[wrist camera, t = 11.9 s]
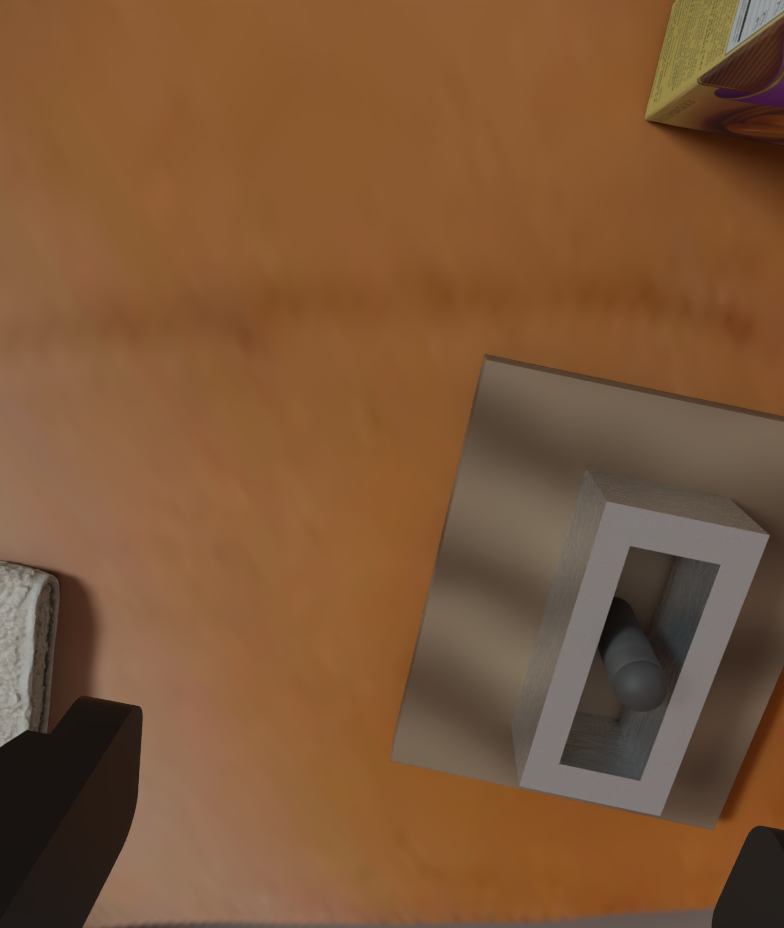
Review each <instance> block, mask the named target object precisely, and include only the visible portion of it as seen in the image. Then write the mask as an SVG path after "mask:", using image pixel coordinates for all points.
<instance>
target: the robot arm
mask: <svg viewBox="0 0 784 928" xmlns="http://www.w3.org/2000/svg"><path fill="white" fill-rule="evenodd" d="M142 719H143V715H142V709H141V707H139V706H136V705H130V704H125V703H120V702H115V701H109V700H104V699H99V698H93V697H88V696H82V697H80V698H78V699H77V700H76V701H75V702H74V703H73V705H72V706H71V707H70V709H69V710H68V711H67V713H66V714H65V715H64V717H63V718H62V719H61V721H60V722H59V723H58V725H57V726H56V727H55V729H54V730H53V731H52V733H51V734H47V733H41V732H36V731H31V730H26V731H24V732H22V733H21V734H19V735H18V736H16V737H15V738H13V739H12V740H10V741H9V742H7V743H5V744H4V745H2V746H1V747H0V928H82V927H83V925H84V923H85V921H86V919H87V917H88V915H89V913H90V911H91V909H92V907H93V906H94V904H95V902H96V900H97V898H98V896H99V894H100V892H101V890H102V888H103V886H104V884H105V882H106V880H107V878H108V876H109V874H110V872H111V870H112V868H113V866H114V864H115V862H116V860H117V858H118V856H119V854H120V852H121V850H122V848H123V846H124V843H125V841H126V838H127V836H128V833H129V830H130V827H131V824H132V820H133V817H134V813H135V809H136V804H137V797H138V784H139V768H140V752H141V736H142ZM712 928H784V830H781V829H776V828H771V827H765V826H757V827H755V828H753V829H752V830H751V831H750V832H749V834H748V836H747V838H746V840H745V842H744V844H743V847H742V849H741V851H740V853H739V855H738V858H737V860H736V862H735V864H734V866H733V869H732V871H731V873H730V875H729V878H728V880H727V882H726V884H725V886H724V889H723V891H722V893H721V895H720V897H719V900H718V902H717V904H716V907H715V909H714V913H713V918H712Z"/></svg>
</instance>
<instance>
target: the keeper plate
mask: <svg viewBox="0 0 784 928" xmlns="http://www.w3.org/2000/svg"><path fill="white" fill-rule="evenodd" d="M586 468H589V469H594V470H598V471H603V472H608V473H613V474H618V475H623V476H627V477H632V478H637V479H642V480H647V481H652V482H656V483H661V484H666V485H671V486H676V487H681V488H685V489H690V490H695V491H700V492H705V493H710V494H714V495H719V496H724V497H729V498H730V499H731V500H732V501H733V502H734V503H735V504H736V505H737V506H738V507H739V508H741V509H742V510H743V511H744V512H745V513H746V514H747V515H748V516H749V517H750V518H751V519H753V520H754V521H755V522H756V523H757V524H758V525H759V526H760V527H761V528H762V529H763V530H765V531H766V532H767V533H768V534H769V535H770V536H769V539H768V541H767V544H766V546H765V549H764V551H763V554H762V557H761V559H760V562H759V564H758V567H757V569H756V572H755V574H754V577H753V580H752V582H751V585H750V587H749V590H748V592H747V595H746V598H745V600H744V603H743V605H742V608H741V610H740V613H739V615H738V618H737V621H736V623H735V626H734V628H733V631H732V633H731V636H730V639H729V641H728V644H727V646H726V649H725V651H724V654H723V656H722V659H721V662H720V664H719V667H718V669H717V672H716V674H715V677H714V680H713V682H712V685H711V687H710V690H709V692H708V695H707V697H706V700H705V703H704V705H703V708H702V710H701V713H700V715H699V718H698V721H697V723H696V726H695V728H694V731H693V733H692V736H691V739H690V741H689V744H688V746H687V749H686V751H685V754H684V756H683V759H682V762H681V764H680V767H679V769H678V772H677V774H676V777H675V780H674V782H673V785H672V787H671V790H670V792H669V795H668V797H667V800H666V803H665V805H664V808H663V810H662V813H661V815H660V816H657V815H652V814H648V813H643V812H638V811H633V810H629V809H624V808H619V807H615V806H610V805H605V804H601V803H596V802H591V801H586V800H582V799H577V798H572V797H568V796H563V795H558V794H554V793H549V792H544V791H539V790H535V789H530V788H525V787H521V786H519V781H518V773H517V766H516V758H515V751H514V743H513V735H512V728H511V723H512V720H513V716H514V713H515V709H516V706H517V703H518V699H519V696H520V692H521V689H522V686H523V682H524V679H525V675H526V672H527V669H528V665H529V662H530V658H531V655H532V652H533V648H534V645H535V641H536V638H537V635H538V631H539V628H540V624H541V621H542V617H543V614H544V611H545V607H546V604H547V600H548V597H549V594H550V590H551V587H552V583H553V580H554V577H555V573H556V570H557V566H558V563H559V560H560V556H561V553H562V549H563V546H564V543H565V539H566V536H567V532H568V529H569V525H570V522H571V519H572V515H573V512H574V508H575V505H576V502H577V498H578V495H579V491H580V488H581V485H582V481H583V478H584V474H585V471H586ZM674 557H675V555H671V554H666V553H662V552H657V551H652V550H647V549H642V548H638V547H633V546H630V547H629V550H628V553H627V557H626V560H625V563H624V566H623V569H622V572H621V575H620V578H619V581H618V584H617V587H616V590H615V593H614V596H613V600H612V603H611V606H610V609H609V612H608V615H607V618H606V621H605V624H604V627H603V630H602V633H601V636H600V640H599V643H598V646H597V649H596V652H595V655H594V658H593V661H592V664H591V667H590V670H589V673H588V676H587V679H586V683H585V686H584V689H583V692H582V695H581V698H580V701H579V704H578V707H577V710H578V711H582V712H587V713H592V714H596V715H601V716H606V717H611V718H615V719H618V718H619V715H620V712H621V709H622V706H623V705H624V706H626V707H627V708H629V709H631V710H634V711H638V712H647V711H651V710H654V709H656V708H657V707H659V706H660V705H661V704H662V703H663V701H664V700H665V698H666V695H667V692H668V682H667V678H666V675H665V673H664V671H663V669H662V667H661V665H660V663H659V661H658V659H657V657H656V655H655V653H654V651H653V649H652V647H651V645H650V643H649V641H648V639H647V635H648V632H649V629H650V626H651V623H652V620H653V618H654V615H655V612H656V609H657V606H658V603H659V600H660V597H661V595H662V592H663V589H664V586H665V583H666V580H667V577H668V574H669V572H670V569H671V566H672V563H673V560H674ZM783 666H784V417H783V416H778V415H773V414H769V413H764V412H759V411H754V410H749V409H745V408H740V407H735V406H730V405H725V404H721V403H716V402H711V401H706V400H702V399H697V398H692V397H687V396H682V395H678V394H673V393H668V392H663V391H658V390H654V389H649V388H644V387H639V386H634V385H630V384H625V383H620V382H615V381H611V380H606V379H601V378H596V377H591V376H587V375H582V374H577V373H572V372H567V371H563V370H558V369H553V368H548V367H544V366H539V365H534V364H529V363H524V362H520V361H515V360H510V359H505V358H500V357H496V356H491V355H486V354H485V355H484V359H483V363H482V368H481V372H480V376H479V380H478V384H477V389H476V393H475V397H474V401H473V405H472V410H471V414H470V418H469V422H468V426H467V431H466V435H465V439H464V443H463V448H462V452H461V456H460V460H459V464H458V469H457V473H456V477H455V481H454V485H453V490H452V494H451V498H450V502H449V506H448V511H447V515H446V519H445V523H444V527H443V532H442V536H441V540H440V544H439V548H438V553H437V557H436V561H435V565H434V569H433V574H432V578H431V582H430V586H429V590H428V595H427V599H426V603H425V607H424V612H423V616H422V620H421V624H420V628H419V633H418V637H417V641H416V645H415V649H414V654H413V658H412V662H411V666H410V670H409V675H408V679H407V683H406V687H405V691H404V696H403V700H402V704H401V708H400V712H399V717H398V721H397V725H396V729H395V733H394V738H393V744H392V753H391V761H394V762H399V763H404V764H408V765H413V766H417V767H422V768H427V769H431V770H436V771H441V772H445V773H450V774H455V775H459V776H464V777H469V778H473V779H478V780H482V781H487V782H492V783H496V784H501V785H506V786H510V787H515V788H520V789H524V790H529V791H533V792H538V793H543V794H547V795H552V796H557V797H561V798H566V799H571V800H575V801H580V802H585V803H589V804H594V805H598V806H603V807H608V808H612V809H617V810H622V811H626V812H631V813H636V814H640V815H645V816H650V817H654V818H659V819H663V820H668V821H673V822H677V823H682V824H687V825H691V826H696V827H701V828H705V829H710V830H714V828H715V826H716V823H717V821H718V819H719V816H720V814H721V812H722V809H723V807H724V805H725V802H726V800H727V798H728V795H729V793H730V791H731V788H732V786H733V784H734V781H735V779H736V777H737V774H738V772H739V769H740V767H741V765H742V762H743V760H744V758H745V755H746V753H747V751H748V748H749V746H750V744H751V741H752V739H753V737H754V734H755V732H756V730H757V727H758V725H759V723H760V720H761V718H762V716H763V713H764V711H765V709H766V706H767V704H768V702H769V699H770V697H771V695H772V692H773V690H774V688H775V685H776V683H777V680H778V678H779V676H780V673H781V671H782V669H783Z"/></svg>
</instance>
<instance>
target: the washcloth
mask: <svg viewBox="0 0 784 928" xmlns="http://www.w3.org/2000/svg"><path fill="white" fill-rule="evenodd" d="M59 604H60V590H59V582H58V580H57V578H56V577H55V576H53V575H51V574H49V573H47V572H44V571H41V570H39V569H33V568H31V567H27V566H22V565H19V564H13V563H9V562H5V561H0V747H1V746H2V745H4V744H5V743H7V742H9V741H10V740H12V739H13V738H15V737H16V736H18V735H19V734H21V733H22V732H24V731H26V730H31V731H36V732H41V733H47V728H48V719H49V709H50V698H51V683H52V674H53V657H54V650H55V640H56V639H55V638H56V634H57V625H58V623H57V622H58V614H59Z"/></svg>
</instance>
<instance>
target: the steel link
mask: <svg viewBox="0 0 784 928" xmlns="http://www.w3.org/2000/svg"><path fill="white" fill-rule="evenodd" d="M769 536H770V535H769V534H768V533H767V532H766V531H765V530H763V529H762V528H761V527H760V526H759V525H758V524H757V523H756V522H755V521H754V520H753V519H751V518H750V517H749V516H748V515H747V514H746V513H745V512H744V511H743V510H742V509H741V508H739V507H738V506H737V505H736V504H735V503H734V502H733V501H732V500H731V499H730V498H729V497H724V496H719V495H714V494H710V493H705V492H700V491H695V490H690V489H685V488H681V487H676V486H671V485H666V484H661V483H656V482H652V481H647V480H642V479H637V478H632V477H627V476H623V475H618V474H613V473H608V472H603V471H598V470H594V469H589V468H586V471H585V474H584V478H583V481H582V485H581V488H580V491H579V495H578V498H577V502H576V505H575V508H574V512H573V515H572V519H571V522H570V525H569V529H568V532H567V536H566V539H565V543H564V546H563V549H562V553H561V556H560V560H559V563H558V566H557V570H556V573H555V577H554V580H553V583H552V587H551V590H550V594H549V597H548V600H547V604H546V607H545V611H544V614H543V617H542V621H541V624H540V628H539V631H538V635H537V638H536V641H535V645H534V648H533V652H532V655H531V658H530V662H529V665H528V669H527V672H526V675H525V679H524V682H523V686H522V689H521V692H520V696H519V699H518V703H517V706H516V709H515V713H514V716H513V720H512V723H511V728H512V735H513V743H514V751H515V758H516V766H517V773H518V781H519V786H521V787H525V788H530V789H535V790H539V791H544V792H549V793H554V794H558V795H563V796H568V797H572V798H577V799H582V800H586V801H591V802H596V803H601V804H605V805H610V806H615V807H619V808H624V809H629V810H633V811H638V812H643V813H648V814H652V815H657V816H660V815H661V813H662V810H663V808H664V805H665V803H666V800H667V797H668V795H669V792H670V790H671V787H672V785H673V782H674V780H675V777H676V774H677V772H678V769H679V767H680V764H681V762H682V759H683V756H684V754H685V751H686V749H687V746H688V744H689V741H690V739H691V736H692V733H693V731H694V728H695V726H696V723H697V721H698V718H699V715H700V713H701V710H702V708H703V705H704V703H705V700H706V697H707V695H708V692H709V690H710V687H711V685H712V682H713V680H714V677H715V674H716V672H717V669H718V667H719V664H720V662H721V659H722V656H723V654H724V651H725V649H726V646H727V644H728V641H729V639H730V636H731V633H732V631H733V628H734V626H735V623H736V621H737V618H738V615H739V613H740V610H741V608H742V605H743V603H744V600H745V598H746V595H747V592H748V590H749V587H750V585H751V582H752V580H753V577H754V574H755V572H756V569H757V567H758V564H759V562H760V559H761V557H762V554H763V551H764V549H765V546H766V544H767V541H768V539H769ZM630 546H633V547H638V548H642V549H647V550H652V551H657V552H662V553H666V554H671V555H675V557H674V560H673V563H672V566H671V569H670V572H669V574H668V577H667V580H666V583H665V586H664V589H663V592H662V595H661V597H660V600H659V603H658V606H657V609H656V612H655V615H654V618H653V620H652V623H651V626H650V629H649V632H648V635H647V639H648V641H649V643H650V645H651V647H652V649H653V651H654V653H655V655H656V657H657V659H658V661H659V663H660V665H661V667H662V669H663V671H664V673H665V675H666V678H667V682H668V692H667V695H666V698H665V700H664V701H663V703H662V704H661V705H660V706H659V707H657V708H656V709H654V710H651V711H647V712H638V711H634V710H631V709H629V708H627V707H626V706H624V705H623V706H622V709H621V712H620V715H619V718H618V719H615V718H611V717H606V716H601V715H596V714H592V713H587V712H582V711H578V710H577V707H578V704H579V701H580V698H581V695H582V692H583V689H584V686H585V683H586V679H587V676H588V673H589V670H590V667H591V664H592V661H593V658H594V655H595V652H596V649H597V646H598V643H599V640H600V636H601V633H602V630H603V627H604V624H605V621H606V618H607V615H608V612H609V609H610V606H611V603H612V600H613V596H614V593H615V590H616V587H617V584H618V581H619V578H620V575H621V572H622V569H623V566H624V563H625V560H626V557H627V553H628V550H629V547H630Z"/></svg>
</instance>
